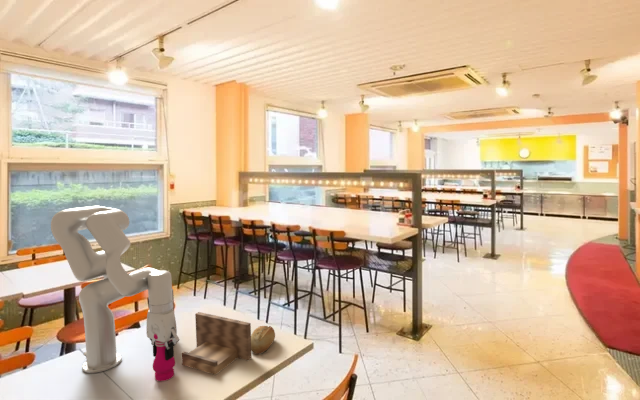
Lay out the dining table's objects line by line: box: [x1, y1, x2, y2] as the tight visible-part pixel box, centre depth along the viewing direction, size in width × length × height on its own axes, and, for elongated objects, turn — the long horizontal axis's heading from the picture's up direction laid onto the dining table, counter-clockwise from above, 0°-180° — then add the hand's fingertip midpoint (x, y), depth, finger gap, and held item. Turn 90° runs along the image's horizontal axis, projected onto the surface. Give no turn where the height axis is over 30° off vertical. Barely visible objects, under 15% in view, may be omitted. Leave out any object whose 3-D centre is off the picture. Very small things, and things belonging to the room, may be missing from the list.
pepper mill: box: [152, 333, 176, 382], centre depth 124 cm, size 7×7×20 cm
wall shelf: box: [181, 311, 252, 376], centre depth 135 cm, size 26×14×14 cm, turn 65°
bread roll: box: [251, 325, 276, 355], centre depth 145 cm, size 10×15×8 cm, turn 172°
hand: (163, 356), depth 124 cm, fingers closed on pepper mill, 5 cm apart
